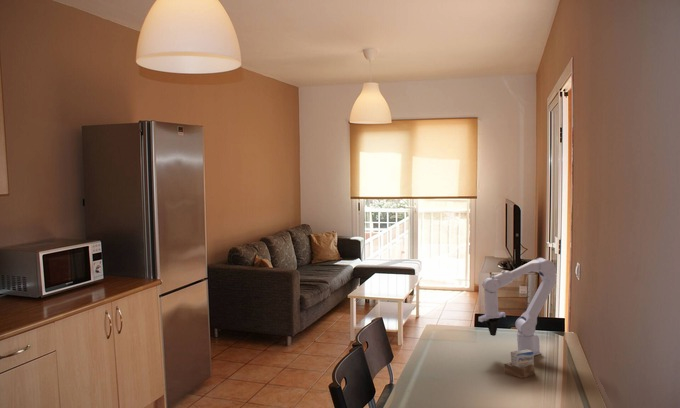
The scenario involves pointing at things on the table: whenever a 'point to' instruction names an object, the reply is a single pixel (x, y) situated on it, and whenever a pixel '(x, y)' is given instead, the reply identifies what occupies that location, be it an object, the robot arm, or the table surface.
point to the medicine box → (522, 358)
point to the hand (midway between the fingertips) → (493, 335)
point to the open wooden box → (519, 370)
